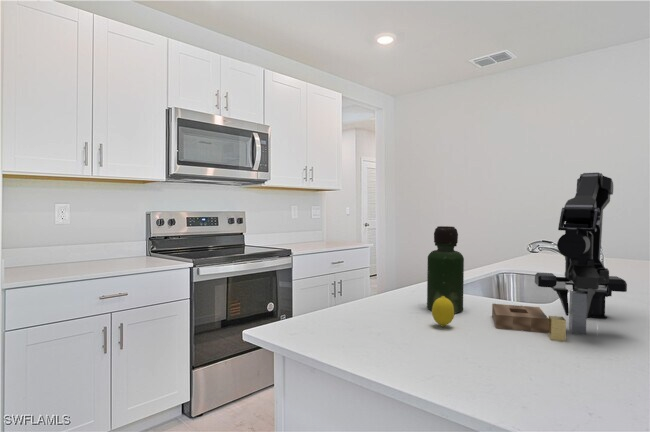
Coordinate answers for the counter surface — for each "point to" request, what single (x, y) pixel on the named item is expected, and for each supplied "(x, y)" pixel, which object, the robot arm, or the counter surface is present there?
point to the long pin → (577, 312)
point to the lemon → (443, 311)
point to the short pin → (557, 328)
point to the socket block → (519, 318)
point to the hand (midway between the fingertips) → (577, 316)
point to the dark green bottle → (445, 269)
